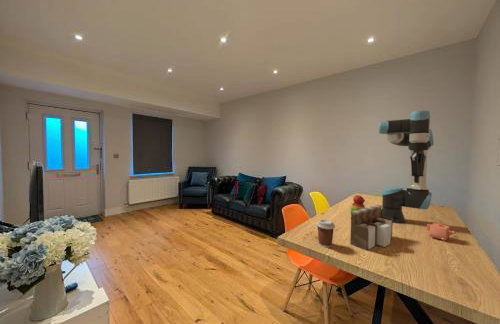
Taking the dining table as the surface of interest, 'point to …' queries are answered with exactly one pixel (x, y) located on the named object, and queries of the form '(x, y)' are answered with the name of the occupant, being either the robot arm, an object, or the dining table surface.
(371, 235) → the key three
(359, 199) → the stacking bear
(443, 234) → the pink cube teapot
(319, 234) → the coffee cup
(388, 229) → the key two
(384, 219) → the key one
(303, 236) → the dining table surface
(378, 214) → the brown slotted rack
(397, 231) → the dining table surface
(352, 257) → the dining table surface
